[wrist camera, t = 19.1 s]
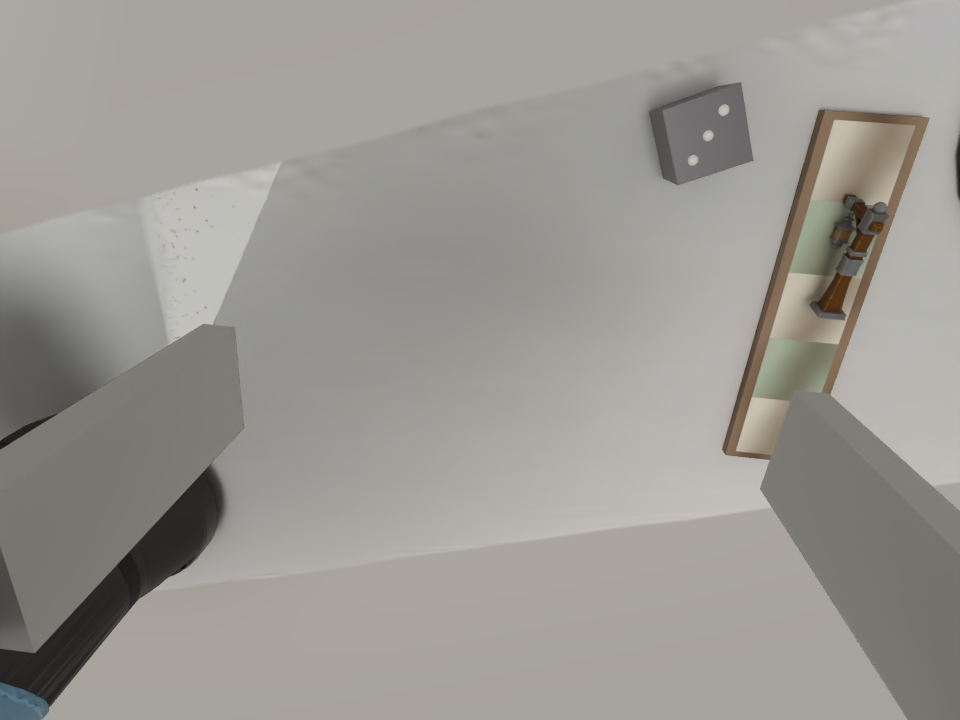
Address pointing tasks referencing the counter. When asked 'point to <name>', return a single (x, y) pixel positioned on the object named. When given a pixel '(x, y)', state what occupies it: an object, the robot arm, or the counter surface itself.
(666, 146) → the die
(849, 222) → the lantern lamp post
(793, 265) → the board
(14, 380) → the counter surface
